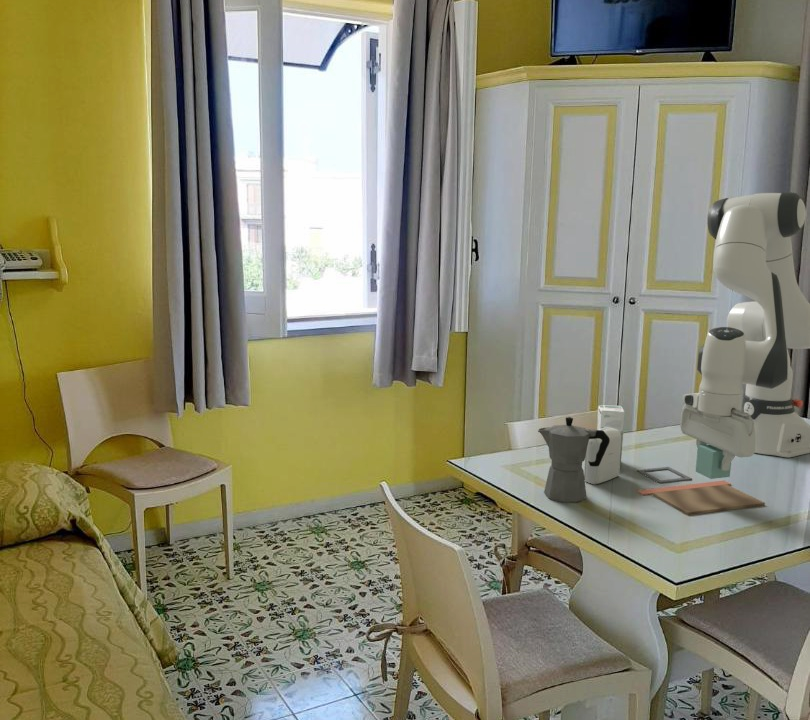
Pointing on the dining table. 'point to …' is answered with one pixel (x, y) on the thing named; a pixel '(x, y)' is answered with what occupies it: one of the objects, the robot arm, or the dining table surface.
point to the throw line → (682, 487)
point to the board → (708, 499)
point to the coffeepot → (569, 459)
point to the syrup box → (611, 419)
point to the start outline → (665, 480)
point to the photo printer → (609, 461)
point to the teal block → (710, 462)
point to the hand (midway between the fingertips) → (713, 465)
